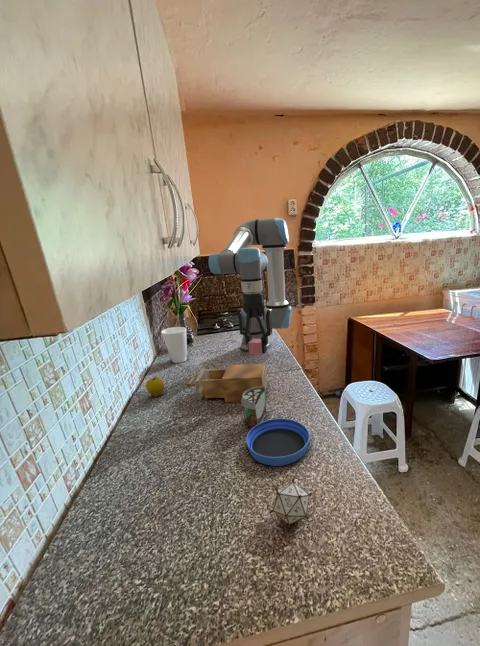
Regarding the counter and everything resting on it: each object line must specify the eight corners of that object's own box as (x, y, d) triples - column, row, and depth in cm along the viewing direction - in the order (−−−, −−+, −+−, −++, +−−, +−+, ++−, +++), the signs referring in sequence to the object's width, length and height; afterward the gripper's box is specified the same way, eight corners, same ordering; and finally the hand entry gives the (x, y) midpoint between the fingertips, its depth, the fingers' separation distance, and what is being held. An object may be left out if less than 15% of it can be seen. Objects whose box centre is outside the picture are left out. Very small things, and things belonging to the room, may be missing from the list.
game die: (301, 531, 67) (323, 520, 61) (264, 532, 64) (283, 520, 57) (297, 488, 73) (316, 474, 66) (263, 487, 70) (280, 471, 63)
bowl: (234, 450, 89) (232, 439, 87) (277, 421, 101) (276, 412, 100) (280, 478, 77) (280, 467, 76) (322, 442, 90) (322, 432, 89)
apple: (165, 389, 127) (161, 372, 124) (166, 396, 121) (162, 378, 118) (148, 393, 124) (144, 375, 122) (148, 400, 119) (144, 381, 116)
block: (254, 350, 124) (253, 338, 122) (266, 350, 122) (265, 338, 121) (249, 354, 119) (248, 342, 118) (261, 355, 118) (260, 343, 116)
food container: (250, 409, 109) (247, 384, 105) (267, 410, 108) (265, 385, 104) (238, 430, 98) (234, 402, 94) (257, 431, 96) (254, 403, 93)
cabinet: (224, 402, 115) (221, 378, 112) (231, 386, 127) (228, 365, 123) (263, 400, 114) (262, 377, 111) (266, 385, 126) (265, 363, 123)
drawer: (186, 400, 116) (183, 381, 113) (195, 386, 126) (192, 369, 124) (233, 398, 115) (231, 379, 112) (238, 384, 126) (236, 367, 123)
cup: (190, 362, 153) (185, 332, 148) (165, 366, 151) (159, 334, 145) (192, 354, 164) (187, 325, 158) (168, 357, 162) (162, 328, 156)
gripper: (225, 294, 112) (232, 354, 120) (272, 294, 107) (276, 357, 115) (234, 290, 118) (240, 347, 127) (279, 290, 113) (282, 350, 122)
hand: (257, 351), depth 121 cm, fingers closed on block, 5 cm apart
